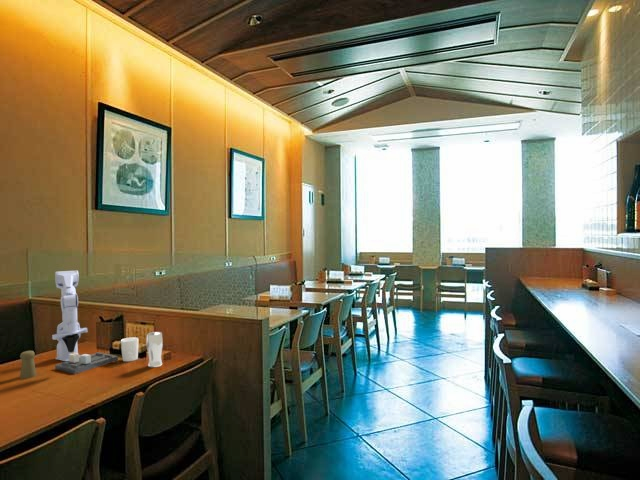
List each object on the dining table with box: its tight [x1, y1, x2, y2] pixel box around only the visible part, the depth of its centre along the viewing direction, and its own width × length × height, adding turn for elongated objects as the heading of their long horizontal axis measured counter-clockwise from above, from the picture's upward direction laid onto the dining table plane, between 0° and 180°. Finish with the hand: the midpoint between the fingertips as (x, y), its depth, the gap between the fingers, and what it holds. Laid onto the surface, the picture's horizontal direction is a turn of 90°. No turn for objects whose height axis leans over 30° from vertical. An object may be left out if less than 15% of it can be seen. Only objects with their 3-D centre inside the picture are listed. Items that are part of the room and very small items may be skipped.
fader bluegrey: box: [79, 353, 91, 364], centre depth 186 cm, size 4×2×4 cm, turn 62°
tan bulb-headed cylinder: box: [19, 350, 37, 380], centre depth 176 cm, size 6×6×11 cm
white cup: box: [120, 336, 139, 362], centre depth 197 cm, size 8×8×10 cm
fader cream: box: [69, 352, 80, 363], centre depth 188 cm, size 4×2×4 cm, turn 62°
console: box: [54, 351, 119, 375], centre depth 190 cm, size 15×21×3 cm
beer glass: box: [146, 331, 164, 368], centre depth 187 cm, size 7×7×15 cm
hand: (71, 351), depth 180 cm, fingers closed
